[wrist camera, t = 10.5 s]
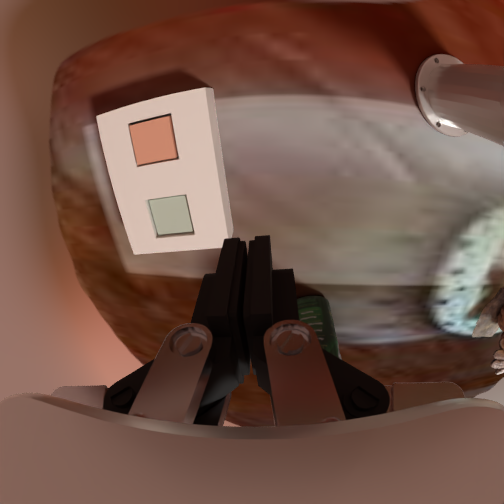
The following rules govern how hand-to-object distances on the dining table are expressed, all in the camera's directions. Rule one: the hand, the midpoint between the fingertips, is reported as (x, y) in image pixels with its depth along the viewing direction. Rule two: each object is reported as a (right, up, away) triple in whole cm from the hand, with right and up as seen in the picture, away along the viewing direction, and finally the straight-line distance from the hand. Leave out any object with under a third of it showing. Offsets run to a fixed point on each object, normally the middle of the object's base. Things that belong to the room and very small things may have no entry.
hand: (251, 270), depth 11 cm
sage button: (-10, +7, +27) cm, 29 cm away
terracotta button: (-11, +15, +21) cm, 28 cm away
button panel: (-11, +12, +25) cm, 30 cm away
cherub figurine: (+66, -16, +40) cm, 78 cm away
